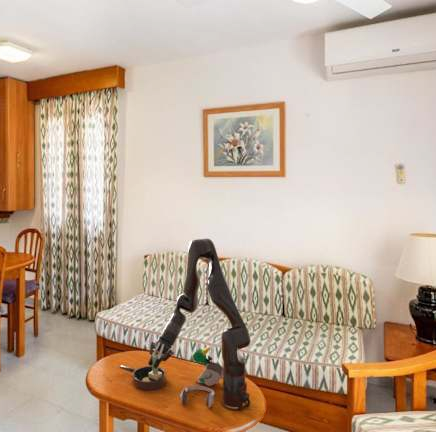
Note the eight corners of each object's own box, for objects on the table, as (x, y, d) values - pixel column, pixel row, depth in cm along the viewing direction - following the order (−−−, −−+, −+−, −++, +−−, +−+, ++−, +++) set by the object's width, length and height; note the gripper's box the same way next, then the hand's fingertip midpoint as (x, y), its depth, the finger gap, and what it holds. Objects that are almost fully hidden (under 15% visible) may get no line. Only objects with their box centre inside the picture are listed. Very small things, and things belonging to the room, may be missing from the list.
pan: (171, 380, 184) (171, 371, 183) (152, 395, 171) (152, 385, 170) (146, 371, 192) (146, 363, 191) (126, 385, 179) (126, 376, 179)
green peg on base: (162, 378, 180) (162, 355, 179) (157, 382, 176) (157, 359, 175) (153, 375, 182) (153, 353, 181) (148, 379, 179) (148, 356, 178)
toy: (235, 376, 174) (202, 344, 178) (212, 402, 177) (179, 369, 181) (237, 371, 180) (205, 340, 184) (214, 395, 183) (183, 364, 187)
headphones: (210, 415, 155) (217, 396, 174) (211, 400, 155) (218, 383, 174) (168, 408, 159) (180, 390, 178) (169, 394, 159) (180, 378, 179)
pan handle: (138, 373, 186) (138, 369, 185) (135, 374, 184) (135, 371, 184) (121, 367, 191) (121, 364, 191) (118, 368, 190) (118, 365, 190)
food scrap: (152, 380, 183) (152, 378, 183) (147, 384, 179) (147, 382, 179) (145, 378, 185) (145, 376, 185) (140, 381, 181) (140, 380, 181)
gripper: (156, 325, 187) (137, 357, 180) (177, 333, 178) (158, 368, 170) (164, 332, 192) (145, 364, 184) (185, 340, 182) (167, 375, 175)
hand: (152, 366), depth 177 cm, fingers closed on green peg on base, 2 cm apart
